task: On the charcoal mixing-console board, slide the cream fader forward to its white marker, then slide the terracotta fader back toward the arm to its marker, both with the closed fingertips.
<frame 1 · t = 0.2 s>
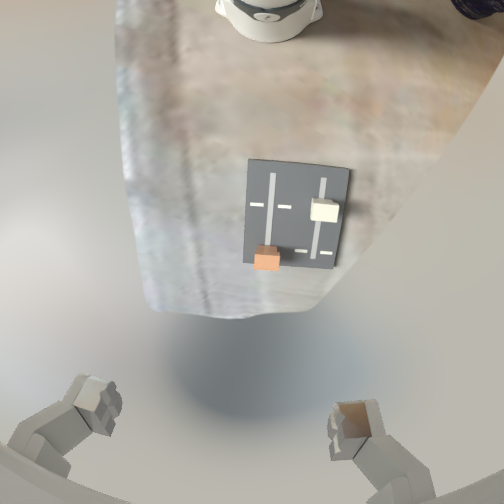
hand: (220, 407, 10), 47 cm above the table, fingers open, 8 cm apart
storage jar: (464, 1, 31), on the table
console: (293, 215, 55), on the table
terracotta fader: (266, 256, 55), point 4 cm above the table, slide at 7.0 cm
cream fader: (323, 208, 50), point 4 cm above the table, slide at -3.0 cm
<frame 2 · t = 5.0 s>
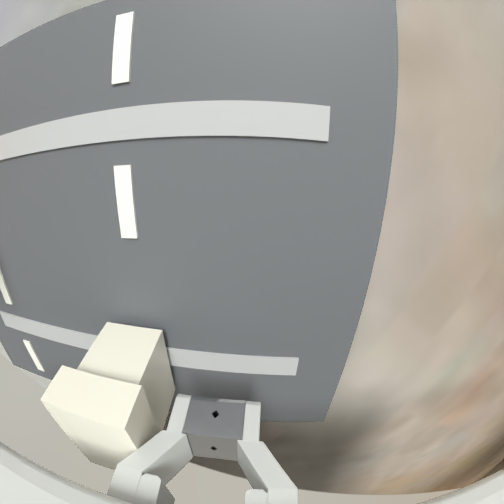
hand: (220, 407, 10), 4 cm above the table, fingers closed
console: (105, 238, 11), on the table
cream fader: (123, 400, 9), point 4 cm above the table, slide at -1.6 cm, touching gripper
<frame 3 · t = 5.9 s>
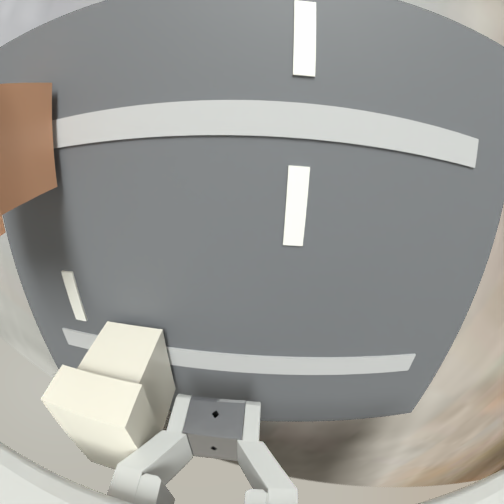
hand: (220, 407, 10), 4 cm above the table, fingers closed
console: (232, 244, 11), on the table
cream fader: (124, 399, 9), point 4 cm above the table, slide at 3.6 cm, touching gripper
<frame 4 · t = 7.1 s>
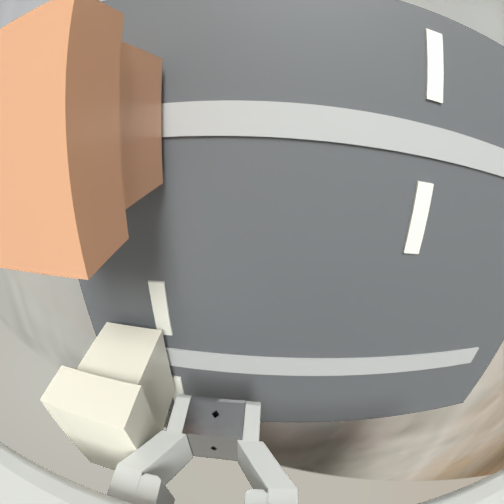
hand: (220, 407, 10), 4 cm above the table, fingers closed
console: (342, 251, 11), on the table
terracotta fader: (77, 130, 5), point 4 cm above the table, slide at 7.0 cm
cream fader: (123, 400, 9), point 4 cm above the table, slide at 7.6 cm, touching gripper
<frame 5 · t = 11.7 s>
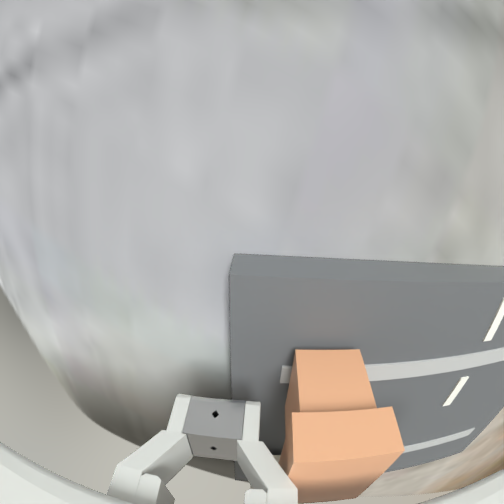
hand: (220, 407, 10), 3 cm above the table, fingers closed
console: (405, 398, 14), on the table
terracotta fader: (325, 428, 9), point 4 cm above the table, slide at 6.5 cm, touching gripper
cream fader: (270, 496, 13), point 4 cm above the table, slide at 7.6 cm
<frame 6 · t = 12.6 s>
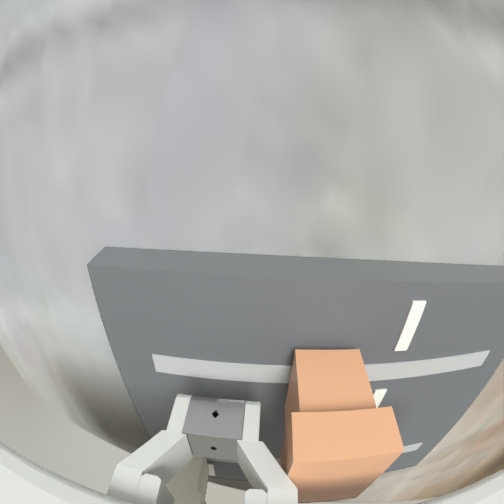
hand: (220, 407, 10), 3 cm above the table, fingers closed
console: (322, 405, 14), on the table
terracotta fader: (325, 428, 9), point 4 cm above the table, slide at 1.2 cm, touching gripper
cream fader: (181, 488, 13), point 4 cm above the table, slide at 7.6 cm
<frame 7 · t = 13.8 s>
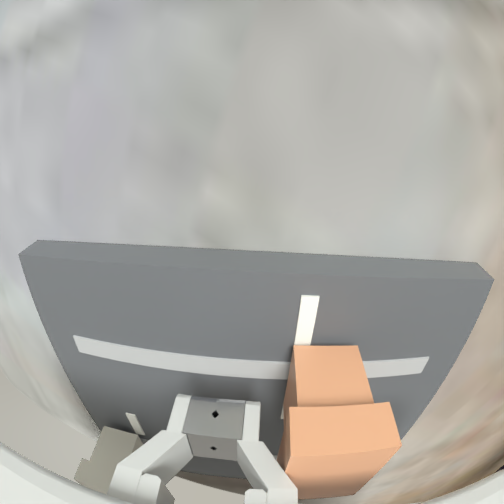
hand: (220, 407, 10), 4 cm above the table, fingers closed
console: (247, 401, 15), on the table
terracotta fader: (323, 424, 9), point 4 cm above the table, slide at -2.8 cm, touching gripper
cream fader: (119, 470, 13), point 4 cm above the table, slide at 7.6 cm
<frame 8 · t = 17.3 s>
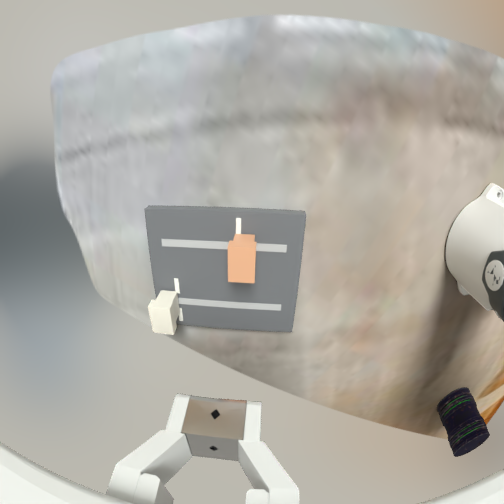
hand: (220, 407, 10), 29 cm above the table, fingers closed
storage jar: (453, 399, 54), on the table
console: (224, 270, 41), on the table
terracotta fader: (243, 256, 35), point 4 cm above the table, slide at -2.8 cm
cream fader: (165, 310, 39), point 4 cm above the table, slide at 7.6 cm
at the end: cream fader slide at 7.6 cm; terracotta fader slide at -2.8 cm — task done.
